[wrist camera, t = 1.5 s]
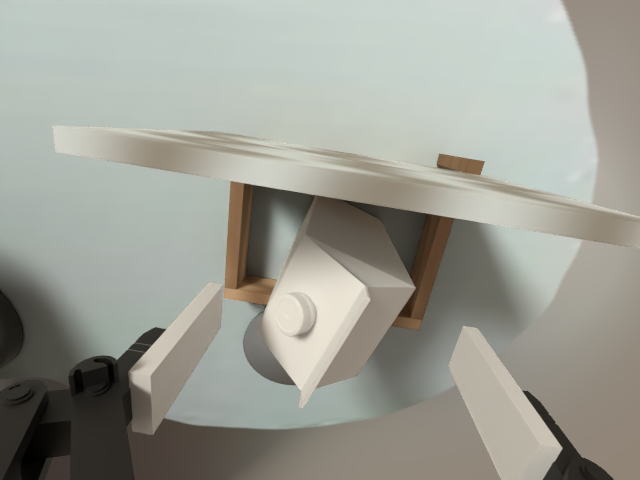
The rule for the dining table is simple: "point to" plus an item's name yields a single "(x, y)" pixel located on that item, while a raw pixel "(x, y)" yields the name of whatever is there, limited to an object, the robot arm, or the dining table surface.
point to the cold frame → (349, 194)
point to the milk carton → (334, 296)
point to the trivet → (263, 355)
